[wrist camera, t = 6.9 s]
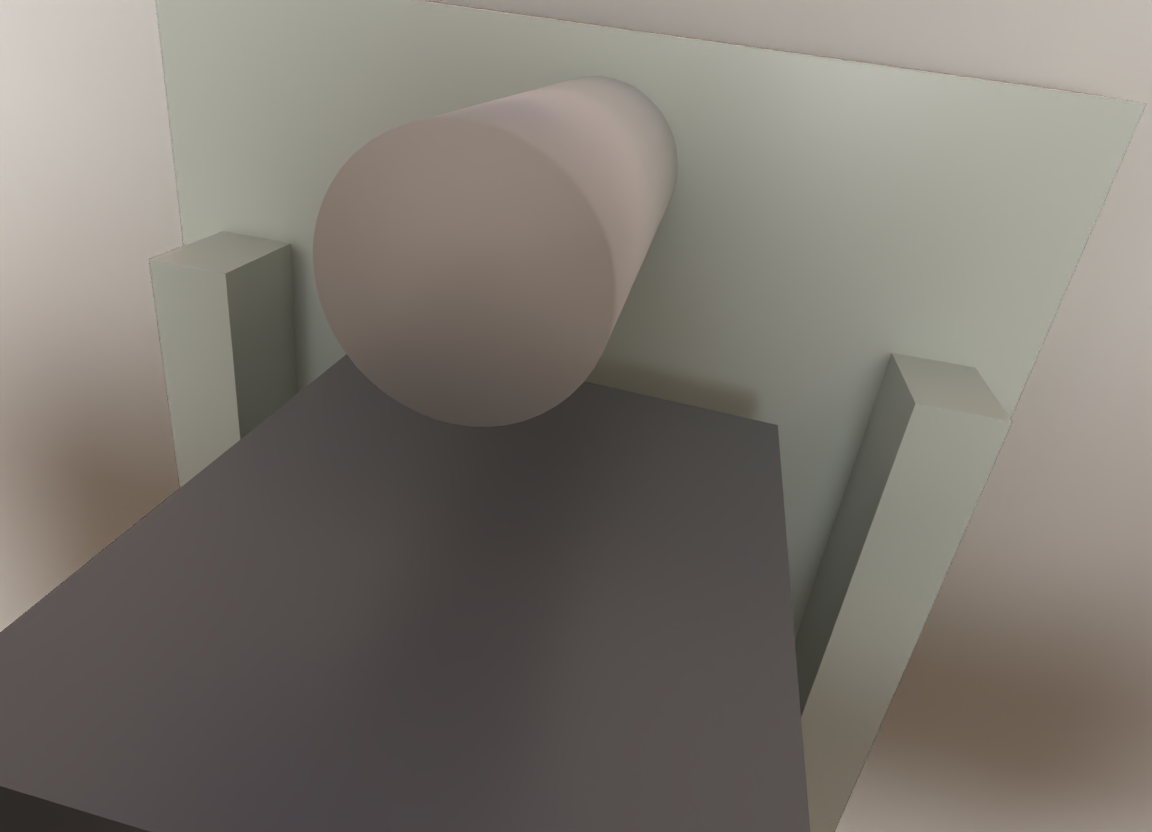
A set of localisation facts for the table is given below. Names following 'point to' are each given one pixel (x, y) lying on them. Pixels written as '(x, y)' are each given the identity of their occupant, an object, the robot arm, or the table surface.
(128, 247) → the table surface
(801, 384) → the pegged rail plate
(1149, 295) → the table surface
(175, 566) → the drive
